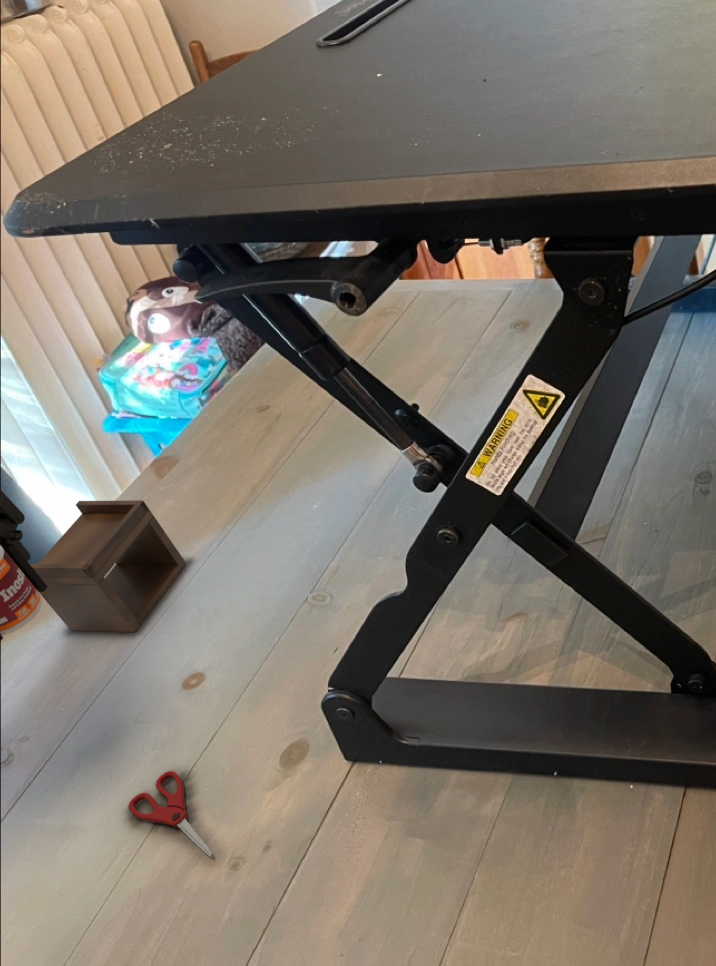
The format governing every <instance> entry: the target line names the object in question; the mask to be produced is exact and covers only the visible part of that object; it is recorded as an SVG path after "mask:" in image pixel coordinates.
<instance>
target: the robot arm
mask: <svg viewBox="0 0 716 966" xmlns="http://www.w3.org/2000/svg"><path fill="white" fill-rule="evenodd" d="M25 519H26V517H25V514H24V513H23V512H22V511H21V510H20V509H19V508H18V507H17V505H16V504H15V503H14V502H13V501H12V500H11V499H10V498H9V497H8V496H7V495H6V494H5V492H4V491H3V490H2V489H1V488H0V545H1V546H2V547H3V549H4V550H5V551H6V552H7V554H8V555H9V556H10V557H11V559H12V560H13V561H14V562H15V564H16V565H17V566H18V567H19V569H20V570H21V571H22V572H23V573H24V575H25V576H26V577H27V578H28V580H29V581H30V582H31V583H32V585H33V586H34V587H35V588H36V589H37V591H38V592H44V591H45V589H46V588H47V587H48V586H47V585H46V584H45V583H44V581H43V580H42V579H41V578H40V576H39V575H38V574H37V573H36V571H35V570H34V569H33V568H32V567H31V565H30V564H29V561H30V560H31V558H32V557H31V553H30V552H29V551H28V549H27V548H26V547H25V546H24V544H23V543H22V542H21V540H22V539H23V531H22V530H21V529H17V528H18V526H19V525H21V524H23V523H24V522H25ZM3 639H4V637H3V636H1V635H0V642H1V641H2V640H3Z"/></svg>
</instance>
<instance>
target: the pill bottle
mask: <svg viewBox="0 0 716 966" xmlns="http://www.w3.org/2000/svg"><path fill="white" fill-rule="evenodd" d="M42 605H43V597H42V595H41V594H40V593H39V592H38V591H37V589H36V588H35V587H34V586H33V585H32V583H31V582H30V581H29V580H28V578H27V577H26V576H25V575H24V573H23V572H22V571H21V570H20V569H19V567H18V566H17V565H16V564H15V562H14V561H13V560H12V559H11V557H10V556H9V555H8V554H7V552H6V551H5V550H4V549H3V547H2V546H1V545H0V635H1V636H2V637H3V636H6V635H10V634H12V633H15V632H16V631H19V630H20V629H22V628H23V627H25V626H27V625H29V623H31V621H33V620H34V619H35V617H36V616H37V615H38V614H39V612H40V610H41V608H42Z"/></svg>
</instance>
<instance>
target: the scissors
mask: <svg viewBox="0 0 716 966" xmlns="http://www.w3.org/2000/svg"><path fill="white" fill-rule="evenodd" d="M170 778H171V779H172V778H173V779H174V781H175V782H176V791H175V792H174V793H170V792H169V791H168V790H166V789H165V788H164V787H163V785H164V783H165V782H166V781H167V780H168V779H170ZM155 789H156V790H157V791H158V792H159V793H160V794H161V795H162V796H163V797H164V798H166V799H167V806H159V804H158V802H157V801H156V800H155V799H154V797H153V796H152V795H151V794H150V793H147V792H141V793H139V794H137V795H135V796H134V797H132V799H130V801H129V803H128V810H129V811H130V813H131V814H132V815H133V817H135V818H136V819H138V820H141V821H146V822H152V823H156V824H157V823H158V824H164V825H167V826H172V827H174V828H178V829H180V830H181V831H182V832H183V833H184V834H185V835H186V836H187V837H188V838H189V839H190V840H191V841H192V842H193V843H194V844H195V845H196V846H197V847H198V848H200V849H201V850H202V851H203V852H204V853H205V854H206V855H208V857H210V858H211V857H213V852H212V851H211V849H210V848H209V847H208V845H207V844H206V843H205V841H204V840H203V839H202V838H201V836H200V835H199V834H198V833H197V832H196V830H195V829H194V828H193V826H191V824H190V823H189V822H188V820H187V819H188V814H187V811H186V801H185V785H184V782H183V780H182V778H181V776H179V774H177V772H176V771H172V770H171V771H170V770H169V771H166V772H164V773H162V774H161V775H160V776H159V777H158V778H157V779H156V782H155ZM145 800H146V801H148V803H149V804H150V806H151V807H152V809H153V811H152V812H151V813H143V812H140V811H138V810H137V808H136V807H137V805H138V804H139V803H140V802H142V801H145Z"/></svg>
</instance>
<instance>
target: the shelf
mask: <svg viewBox="0 0 716 966" xmlns="http://www.w3.org/2000/svg"><path fill="white" fill-rule="evenodd" d="M75 507H77V509H78V510H79V512H80V513H81V514H80V516H79V517H78V518H77V519H76V520H75V521H74V522H73V523H72V524H71V525H70V527H69V528H68V529H66V531H65V532H64V533H63V535H62V536H61V537H60V538H59V539H58V540H57V541H56V542H55V544H54V545H52V547H51V548H50V549H49V550H48V551H47V552H46V554H45V555H44V556H43V557H42V558H41V559H40V560H39V561H38V563H32V562H31V563H29V562H28V563H29V564H30V565H31V567H32V568H33V569H34V570H35V571H36V573H37V574H38V575H39V576H40V578H41V579H42V580H43V581H44V583H45V584H46V585H47V586H48V587H47V588H46V589H45V591H44V592H39V593H40V595H41V597H42V599H44V600H45V601H46V603H47V604H48V605H49V606H50V608H51V609H52V610H53V611H54V612H55V613H56V615H57V616H58V617H59V618H60V620H61V622H62V623H64V624H65V626H66V627H67V628H68V629H69V631H76V632H79V631H80V632H115V633H116V632H117V633H118V632H119V633H136V632H137V631H138V630H139V628H140V627H141V626H142V624H143V622H144V621H145V620H146V619H147V617H148V616H149V615H150V613H151V612H152V610H153V609H154V608H155V607H156V606H157V604H158V602H159V601H160V600H161V598H162V597H163V596H164V595H165V593H166V592H167V591H168V589H169V588H170V586H171V585H172V584H173V582H174V581H175V580H176V579H177V577H178V576H179V574H180V573H181V572H182V570H183V569H184V567H185V566H186V565H187V562H186V560H185V559H184V557H183V556H182V555H181V553H180V552H179V550H178V548H177V547H176V546H175V545H174V543H173V541H172V540H171V538H170V537H169V536H168V534H167V533H166V531H165V530H164V529H163V527H162V526H161V524H160V523H159V521H158V519H157V518H156V517H155V515H154V514H153V512H152V511H151V509H150V508H149V506H148V505H147V504H146V502H145V501H144V500H143V499H142V500H140V499H139V500H136V499H135V500H78V502H77V503H76V504H75Z"/></svg>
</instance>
